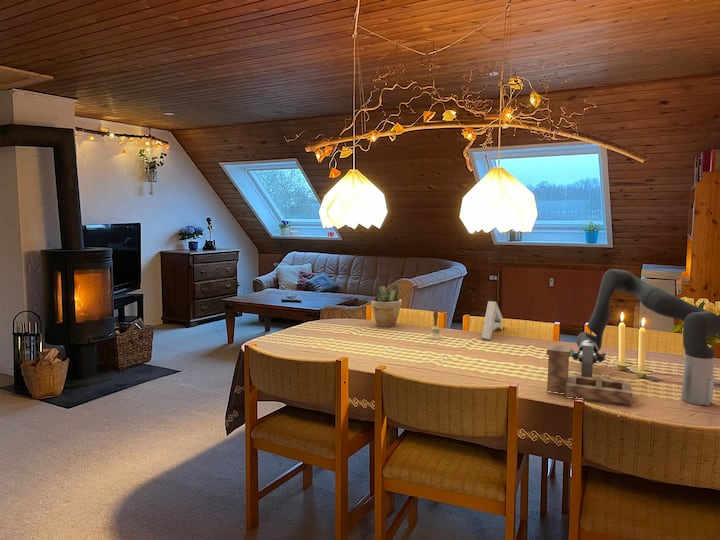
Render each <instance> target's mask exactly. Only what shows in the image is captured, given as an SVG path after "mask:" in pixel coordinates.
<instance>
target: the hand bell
mask: <svg viewBox="0 0 720 540" xmlns="http://www.w3.org/2000/svg"><path fill="white" fill-rule="evenodd" d="M432 317H433V326H432V327H431V329H430V333H429V335H427V338H428V339H431V340H442V339H444V337H443V335H442V334H441V329H440V327H438V318H439V311H438V309H437V308H434V310H433V316H432Z"/></svg>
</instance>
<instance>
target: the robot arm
mask: <svg viewBox="0 0 720 540" xmlns="http://www.w3.org/2000/svg"><path fill="white" fill-rule="evenodd" d="M614 292H624V293H628V294H630V295H632V296H635V298H637V299H638V300H639V302H640V303H641V305H642V306H644V307H645V308H646V309H648V310H650V311H652V312H654V313H655V314H657V315H659V316H660V315H661V316H664V317H666V318H671V319H675V320H679V321H682V322H683V324H682V325H683V326H682V333H683V334H682V336H683V337H682V343H683V344H682V345H683V348H684V361H683V372H682V387H681V388H682V389H681V400H683V402H685V403H689V404H692V405H696V406H697V405H698V406H706V407H707V406H708V407H709V406H710V405H711V404H712V402H713V397H714V396H713V395H714V384H715V377H714V376H713V375H714V367H715V366H714V363H715V350H714V348H713V347H710V346H708V338H709V337H711V338H712V337H714V336H717V335H719V334H720V317H719V315H717V314H716V313H715V312H713V311H710V310H708V309H705V308H702V307H699V306H696V305H694V304H691V303H689V302H688V301H685V299H682V298H679V297H678V296H676V295H674V294H672V293H670V292H668V291H666V290H664V289H662V288H660V287H658V286H655V285H653V284H651V283H648V282H647V281H644V280H642V279H641V278H640V277H638V276H636V275H635V274H633V273H632V272H630V271H627V270H625V269H617V268H615V269H614V268H612V269H608V270H607V271H605V273H604V274H603V276H602V280H601V283H600V287H599V291H598V294H597V298H596V303H595V307H594V309H593V312H592V314H591V316H590V318H589V321H588V323H587V329H588V330H589V331H590V332H592V333H594V334H595V335H594V334H591V333H589V332H587V331H582V332H580V333H579V334H578V335H577V336H576V345H577V346H578V350H577V351H576V350H574V349H571V356H570V358H572V359H574V360H575V361H577V360H578V362H579V363H581V364H582V349H583V342H584V343H594V349H593V364H595V363H596V364H597V362H598V363H602V362H604V361H605V360H606V359H607V358H606V355H607V354H606V352H602V353H599V351H600V350H601V348H602V346H603V345H602V343H603V336H604V331H605V328H606V327H607V325H608V322H609V320H610V317H611V309H610V301H611V298H612V295H613V294H614Z"/></svg>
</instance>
